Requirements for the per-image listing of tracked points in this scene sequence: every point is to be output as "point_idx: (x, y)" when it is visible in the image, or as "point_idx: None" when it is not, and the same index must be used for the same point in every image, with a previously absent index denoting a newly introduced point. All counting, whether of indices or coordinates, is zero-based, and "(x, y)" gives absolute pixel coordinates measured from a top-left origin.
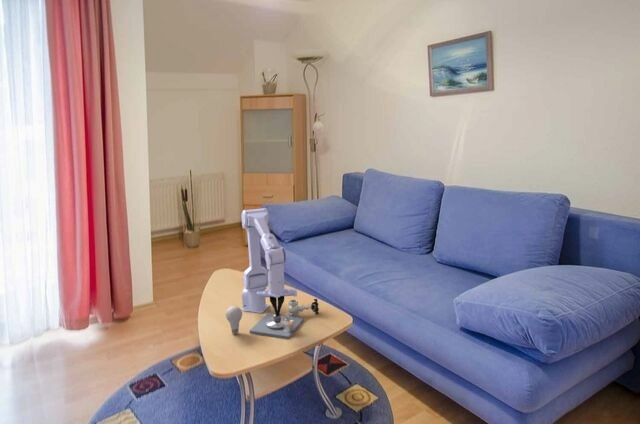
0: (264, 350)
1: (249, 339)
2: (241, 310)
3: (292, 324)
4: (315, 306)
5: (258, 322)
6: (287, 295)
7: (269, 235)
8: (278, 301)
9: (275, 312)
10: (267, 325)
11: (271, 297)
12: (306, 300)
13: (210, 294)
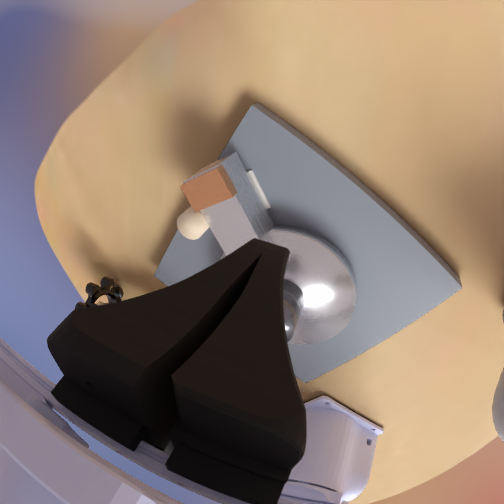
0: (448, 23)
1: (492, 211)
2: (502, 416)
3: (191, 181)
4: (93, 304)
5: (378, 341)
6: (31, 375)
7: None
8: (144, 353)
9: (281, 269)
10: (353, 283)
11: (248, 485)
12: None
13: (407, 486)
